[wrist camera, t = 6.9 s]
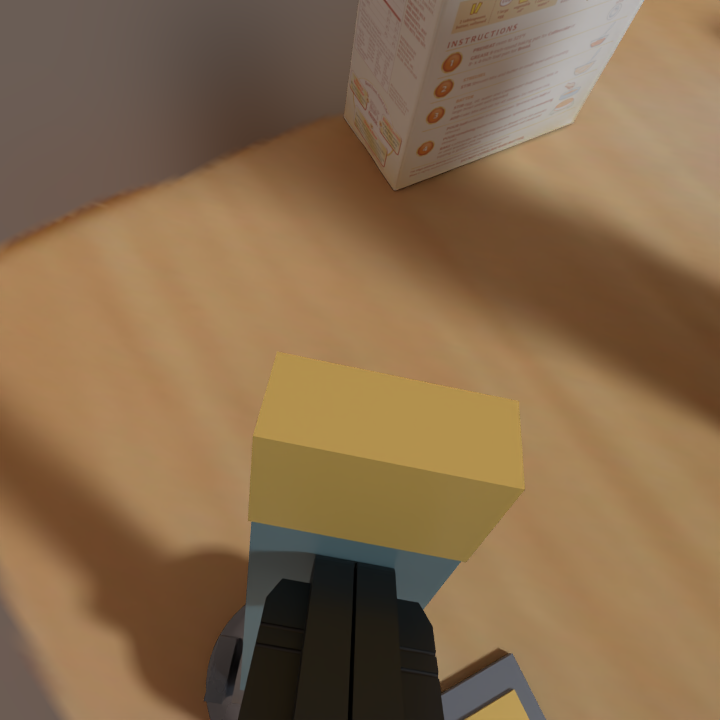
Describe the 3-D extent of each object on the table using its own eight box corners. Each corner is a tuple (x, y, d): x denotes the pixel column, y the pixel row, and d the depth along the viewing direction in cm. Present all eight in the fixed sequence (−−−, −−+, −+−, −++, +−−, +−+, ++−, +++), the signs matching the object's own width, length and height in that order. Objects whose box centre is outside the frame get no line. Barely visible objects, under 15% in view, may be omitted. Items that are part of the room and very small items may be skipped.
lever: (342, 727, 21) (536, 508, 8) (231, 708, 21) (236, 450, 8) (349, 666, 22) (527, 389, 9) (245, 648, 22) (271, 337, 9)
